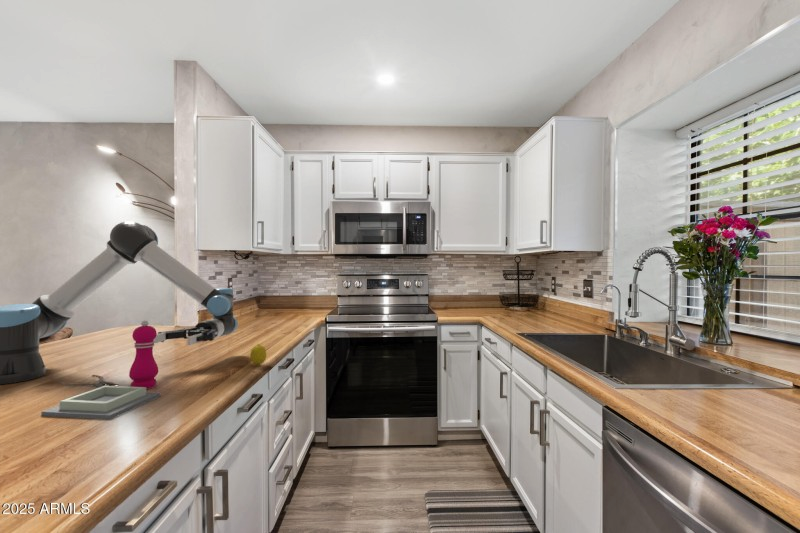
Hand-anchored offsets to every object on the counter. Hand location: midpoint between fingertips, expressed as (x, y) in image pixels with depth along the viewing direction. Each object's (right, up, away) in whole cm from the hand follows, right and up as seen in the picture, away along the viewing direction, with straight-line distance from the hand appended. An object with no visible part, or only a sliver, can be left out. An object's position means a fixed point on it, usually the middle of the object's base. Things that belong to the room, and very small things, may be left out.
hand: (169, 340), depth 121 cm
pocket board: (-1, -12, -25) cm, 28 cm away
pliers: (-19, -12, -5) cm, 23 cm away
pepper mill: (-1, -12, -10) cm, 16 cm away
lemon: (+23, -13, +15) cm, 31 cm away
